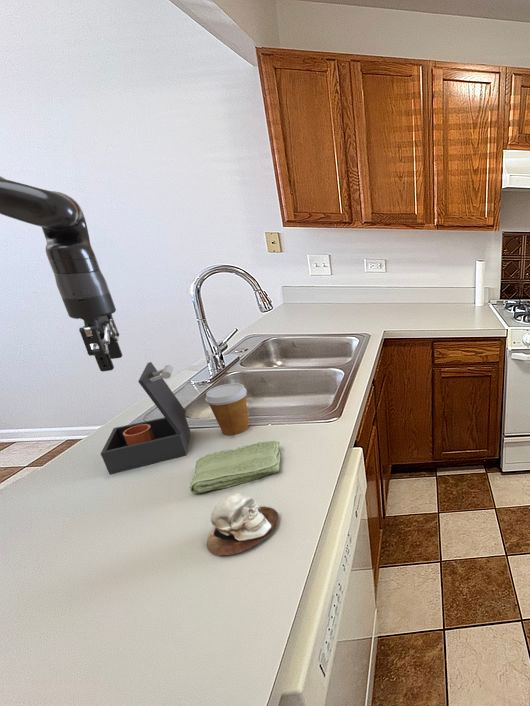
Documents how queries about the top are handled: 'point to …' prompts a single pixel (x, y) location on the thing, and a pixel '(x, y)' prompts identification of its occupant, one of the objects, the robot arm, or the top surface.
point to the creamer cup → (138, 434)
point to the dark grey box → (145, 446)
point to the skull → (239, 524)
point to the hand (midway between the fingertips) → (112, 363)
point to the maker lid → (163, 394)
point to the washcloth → (235, 466)
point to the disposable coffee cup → (229, 407)
